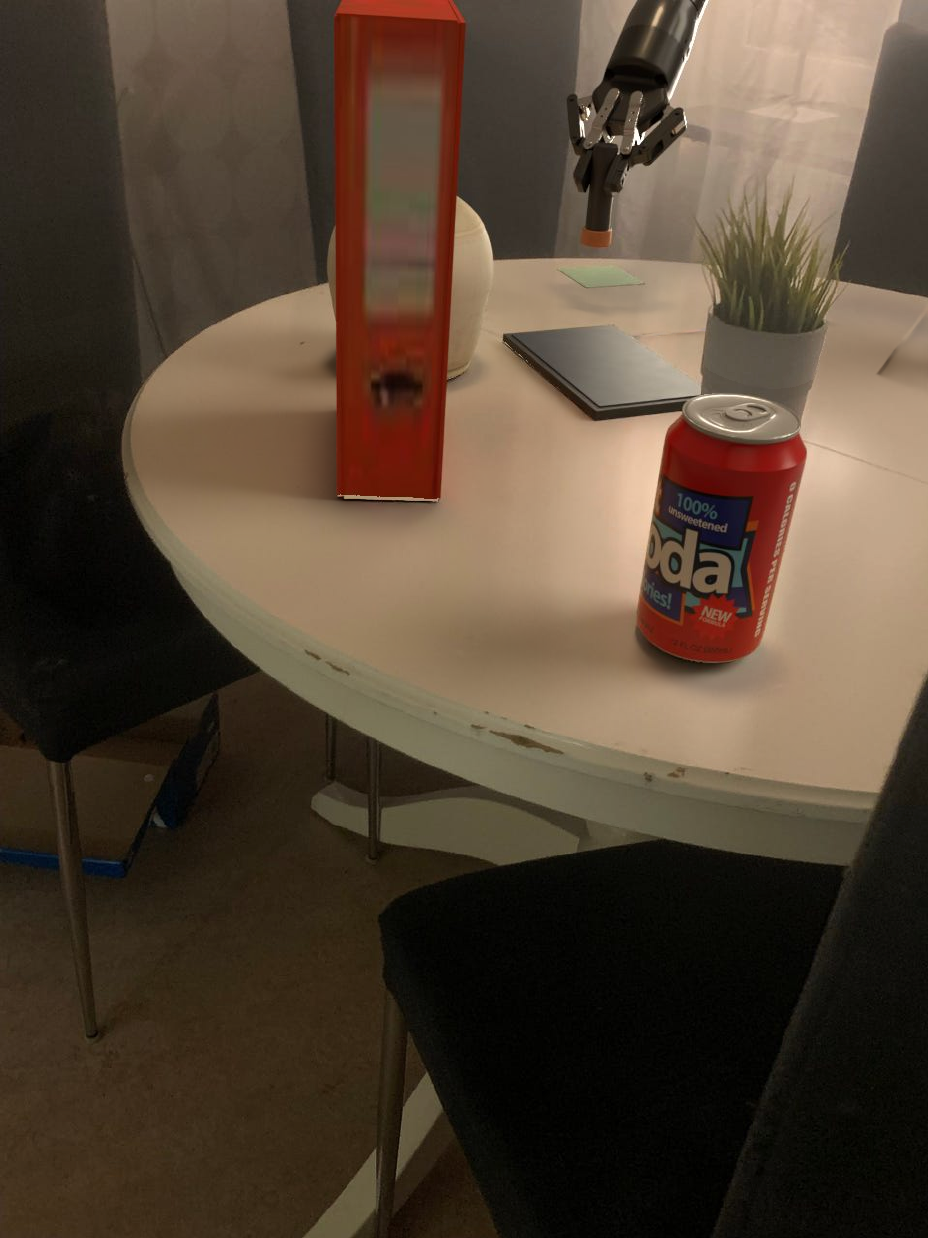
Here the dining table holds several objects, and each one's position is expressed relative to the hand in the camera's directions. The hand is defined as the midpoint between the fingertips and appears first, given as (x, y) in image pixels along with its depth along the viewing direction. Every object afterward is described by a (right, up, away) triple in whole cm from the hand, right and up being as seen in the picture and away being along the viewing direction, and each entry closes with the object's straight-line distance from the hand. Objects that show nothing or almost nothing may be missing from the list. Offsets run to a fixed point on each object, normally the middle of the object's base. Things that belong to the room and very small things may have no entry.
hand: (594, 189), depth 112 cm
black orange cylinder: (+1, -4, +5) cm, 6 cm away
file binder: (-20, -31, -24) cm, 44 cm away
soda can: (+1, -46, -44) cm, 64 cm away
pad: (+3, -3, +20) cm, 21 cm away
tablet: (0, -20, -6) cm, 21 cm away
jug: (-19, -20, -6) cm, 28 cm away
